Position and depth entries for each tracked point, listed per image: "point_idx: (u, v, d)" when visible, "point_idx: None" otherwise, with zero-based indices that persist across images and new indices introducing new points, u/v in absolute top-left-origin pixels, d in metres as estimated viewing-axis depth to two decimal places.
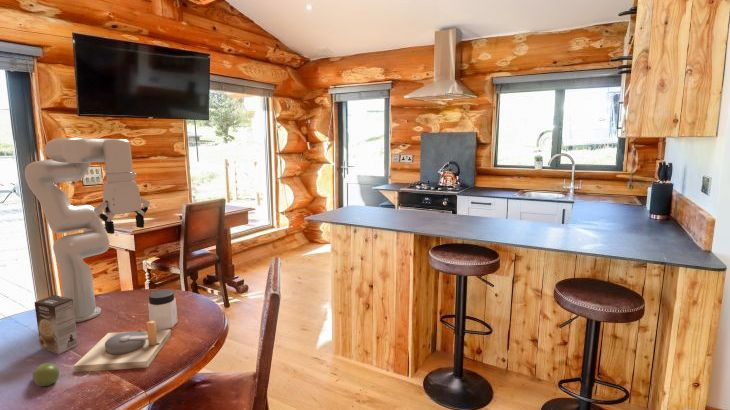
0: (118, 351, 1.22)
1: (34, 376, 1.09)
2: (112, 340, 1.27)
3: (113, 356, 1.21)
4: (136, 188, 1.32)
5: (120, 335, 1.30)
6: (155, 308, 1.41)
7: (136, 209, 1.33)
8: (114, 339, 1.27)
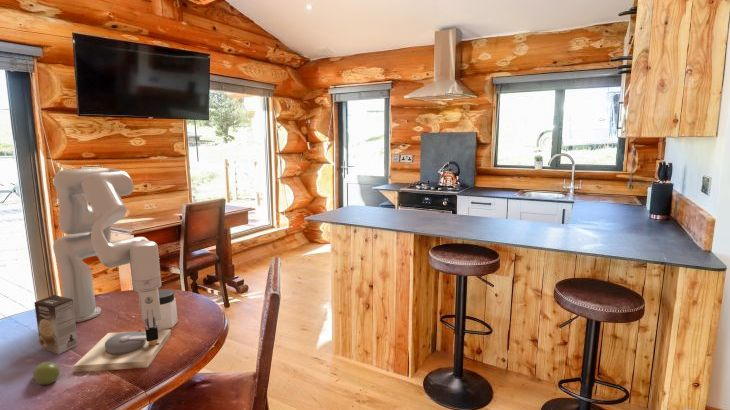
0: (118, 351, 1.22)
1: (35, 374, 1.10)
2: (112, 340, 1.27)
3: (113, 356, 1.21)
4: (140, 299, 1.18)
5: (120, 335, 1.30)
6: None
7: None
8: (114, 339, 1.27)
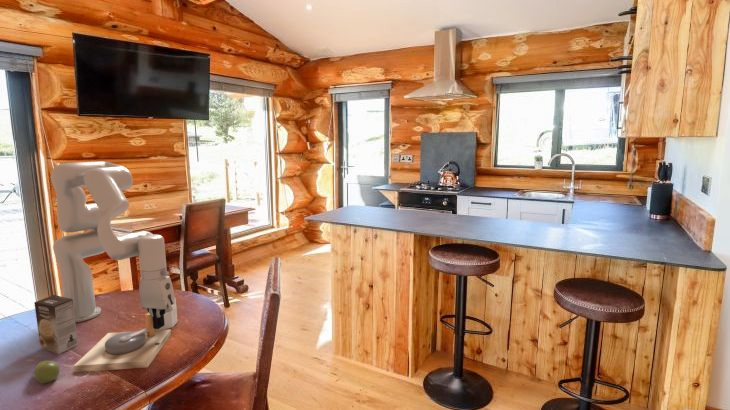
0: (135, 347, 1.25)
1: (35, 373, 1.11)
2: (113, 344, 1.24)
3: (113, 356, 1.21)
4: (159, 287, 1.27)
5: (111, 340, 1.26)
6: None
7: (160, 307, 1.29)
8: (113, 343, 1.25)
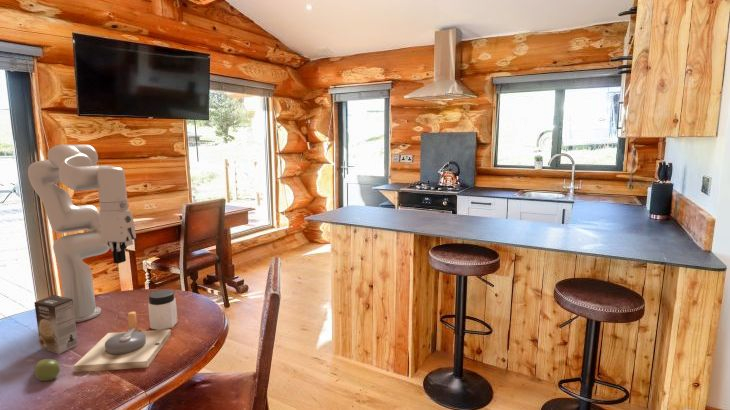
0: (145, 340, 1.29)
1: (35, 371, 1.12)
2: (122, 345, 1.24)
3: (113, 356, 1.21)
4: (119, 219, 1.26)
5: (111, 345, 1.24)
6: (155, 308, 1.41)
7: (119, 240, 1.27)
8: (120, 345, 1.24)
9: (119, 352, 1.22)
